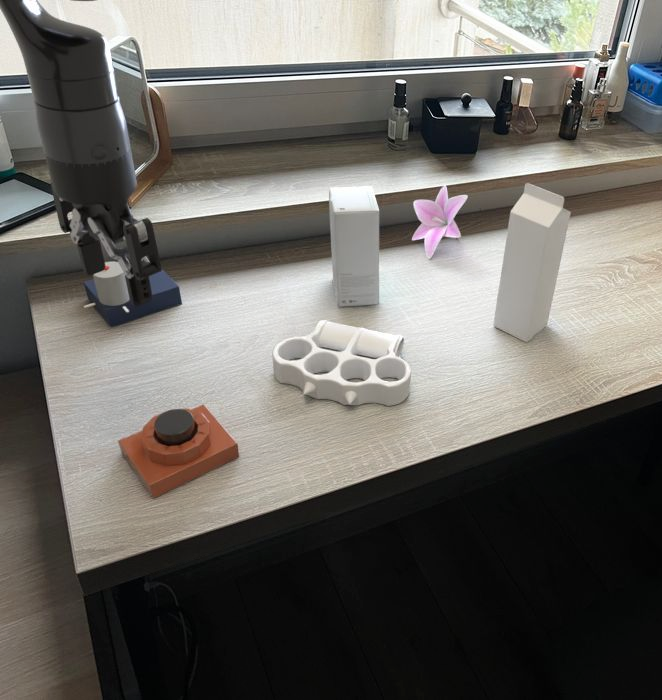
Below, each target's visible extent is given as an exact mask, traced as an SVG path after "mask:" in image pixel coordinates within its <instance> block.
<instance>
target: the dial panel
mask: <svg viewBox="0 0 662 700" xmlns="http://www.w3.org/2000/svg"><path fill="white" fill-rule="evenodd" d="M149 280H150V285H151V291H152V300H151V301H149V302H147V303H145V304H143V305H140V306H135V305H133V304H132V303H130V300H129V301H128V302H126V303H124V304H121V305H117V306H107V305H104V304H102V303H101V302H100V301H99V297H98V293H97V289H96V286H95V282H94V278H93V279H89V280H86V281H83V286H84V290H85V293H86V297H87V300H88V302H89V304H86V305H83V309H87V308H90V307H94V309H95V310H96V311H97V312H98V314H99V315H100V316H101V318H103V320H104V321H105V322H106V323H107V325H108V326H109V328H115V327H117V326H120V325H123V324H126V323H129V322H132V321H135V320H138V319H141V318H144V317H147V316H150V315H153V314H156V313H159V312H162V311H165V310H169V309H171V308H174V307H176V306H180V305H182V304H183V301H182V295H181V291H180V286H179V285H178V284H177V283H176V281H174V279H173V278H172V277H171V276H170V275H168V274H167V272H166V271H165V270H164V269H162V271H161V272H158V273H156V274H153V275H151V276H149Z"/></svg>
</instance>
